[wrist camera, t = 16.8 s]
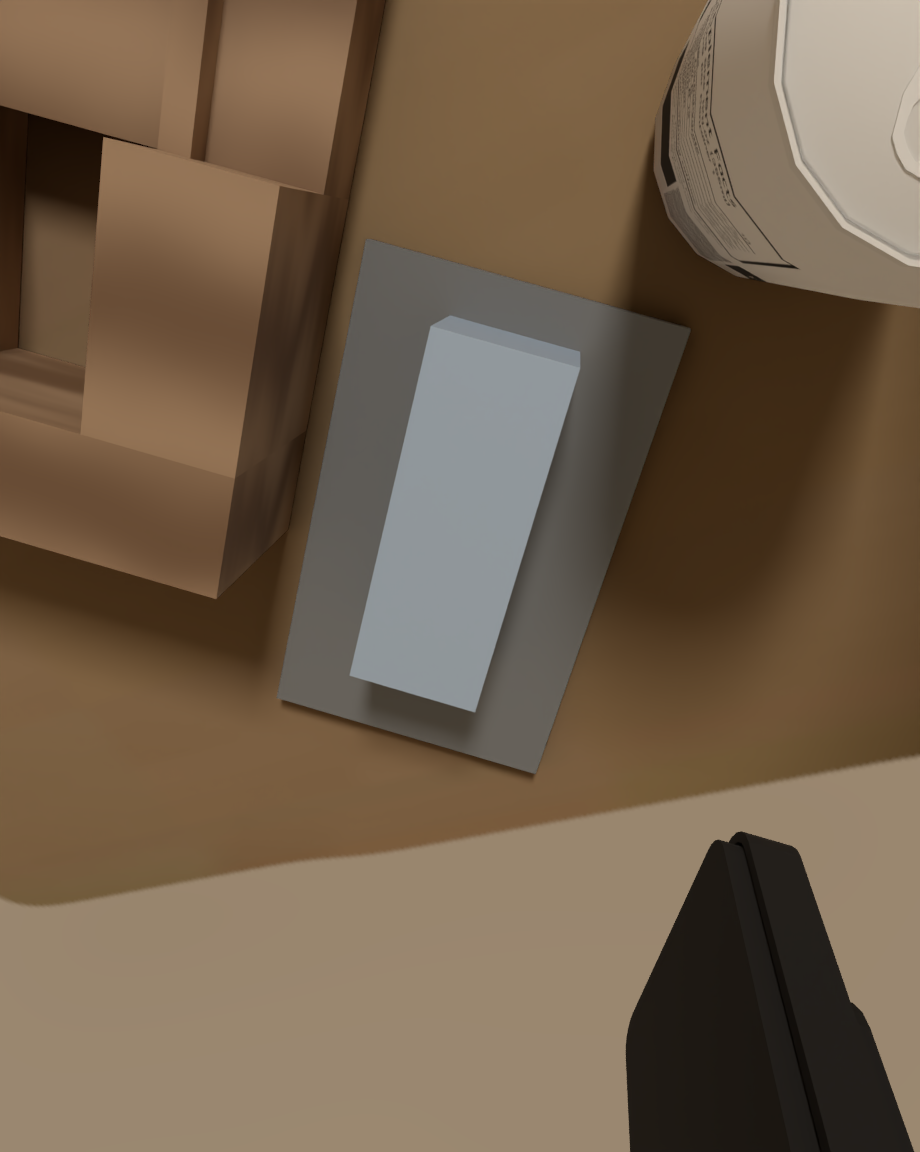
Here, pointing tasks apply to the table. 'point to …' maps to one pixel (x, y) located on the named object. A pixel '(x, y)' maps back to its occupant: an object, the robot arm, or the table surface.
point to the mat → (563, 518)
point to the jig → (180, 272)
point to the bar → (462, 508)
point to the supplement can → (799, 144)
